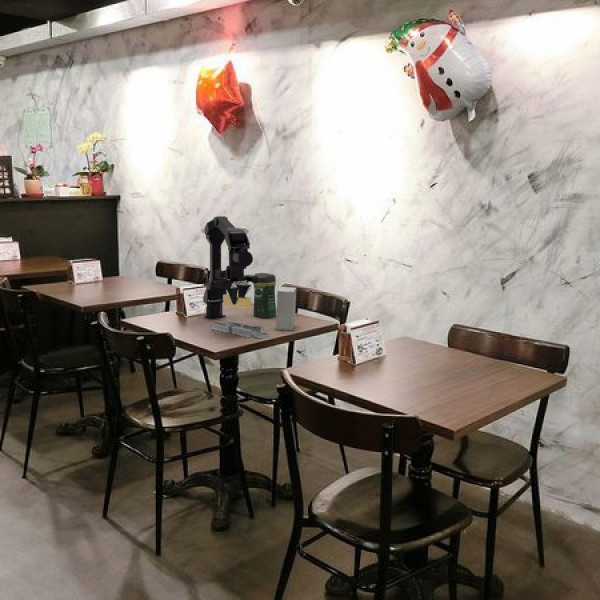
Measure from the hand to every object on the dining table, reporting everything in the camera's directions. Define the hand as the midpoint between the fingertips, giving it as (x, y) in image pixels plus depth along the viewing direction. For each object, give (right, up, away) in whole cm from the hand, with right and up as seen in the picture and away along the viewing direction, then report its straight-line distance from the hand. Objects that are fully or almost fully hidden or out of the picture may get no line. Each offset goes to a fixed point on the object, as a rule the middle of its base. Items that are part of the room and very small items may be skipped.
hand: (237, 303), depth 251 cm
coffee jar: (+9, -6, +29) cm, 31 cm away
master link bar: (0, -1, 0) cm, 1 cm away
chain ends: (+2, -11, +1) cm, 11 cm away
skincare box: (+19, -10, +9) cm, 23 cm away
